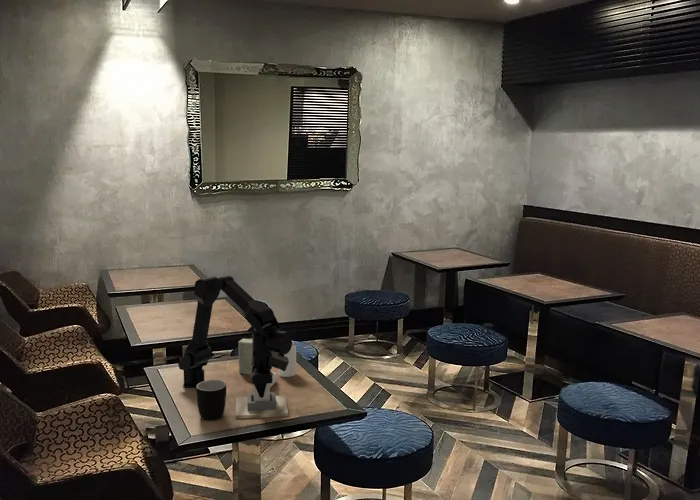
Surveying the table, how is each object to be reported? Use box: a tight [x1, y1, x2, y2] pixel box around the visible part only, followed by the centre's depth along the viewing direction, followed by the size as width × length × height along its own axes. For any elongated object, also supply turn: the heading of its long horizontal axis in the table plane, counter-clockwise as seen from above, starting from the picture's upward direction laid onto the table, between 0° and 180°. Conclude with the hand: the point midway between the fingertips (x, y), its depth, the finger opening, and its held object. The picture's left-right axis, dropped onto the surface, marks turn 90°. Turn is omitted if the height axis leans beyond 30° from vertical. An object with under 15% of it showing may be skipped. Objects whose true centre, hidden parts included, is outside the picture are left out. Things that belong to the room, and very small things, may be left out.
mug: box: [195, 379, 227, 422], centre depth 191 cm, size 12×9×10 cm
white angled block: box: [270, 371, 277, 388], centre depth 217 cm, size 4×10×9 cm, turn 169°
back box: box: [246, 392, 277, 411], centre depth 197 cm, size 9×8×2 cm
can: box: [277, 340, 297, 378], centre depth 227 cm, size 6×6×12 cm
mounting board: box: [235, 395, 289, 420], centre depth 198 cm, size 16×14×1 cm
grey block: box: [253, 383, 271, 401], centre depth 197 cm, size 5×4×9 cm
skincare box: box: [237, 338, 252, 375], centre depth 228 cm, size 6×4×12 cm
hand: (261, 394), depth 197 cm, fingers closed on grey block, 4 cm apart
